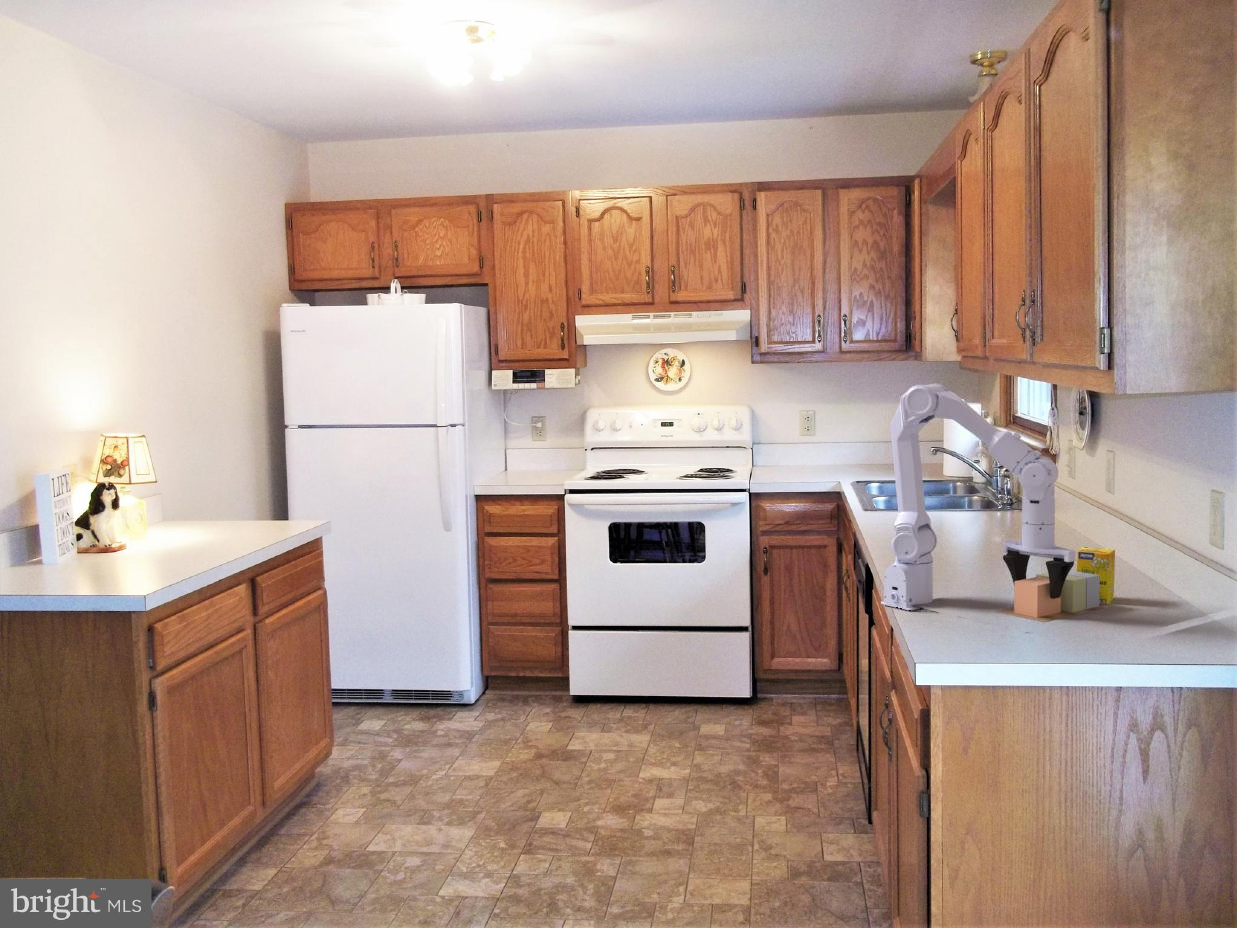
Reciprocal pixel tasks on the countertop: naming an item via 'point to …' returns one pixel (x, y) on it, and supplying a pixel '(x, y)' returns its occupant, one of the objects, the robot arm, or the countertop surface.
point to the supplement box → (1099, 569)
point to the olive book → (1071, 593)
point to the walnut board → (1049, 617)
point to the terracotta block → (1035, 598)
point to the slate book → (1090, 588)
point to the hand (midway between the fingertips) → (1037, 594)
